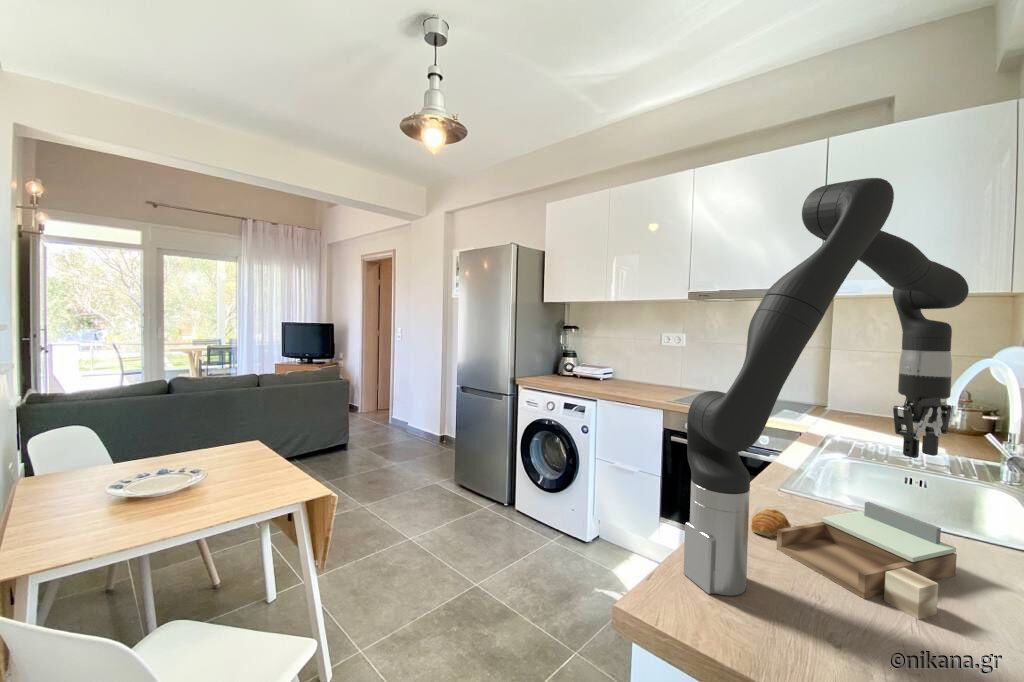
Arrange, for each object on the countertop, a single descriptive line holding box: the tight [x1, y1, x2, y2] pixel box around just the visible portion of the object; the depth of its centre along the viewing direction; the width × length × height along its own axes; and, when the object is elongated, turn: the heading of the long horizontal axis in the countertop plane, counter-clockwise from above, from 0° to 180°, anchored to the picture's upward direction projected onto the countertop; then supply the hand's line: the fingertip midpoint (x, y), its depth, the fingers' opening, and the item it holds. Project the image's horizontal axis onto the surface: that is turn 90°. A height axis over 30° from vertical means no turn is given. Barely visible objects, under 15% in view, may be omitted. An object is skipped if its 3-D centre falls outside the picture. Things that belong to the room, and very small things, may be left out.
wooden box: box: [776, 521, 957, 600], centre depth 80 cm, size 24×16×4 cm, turn 107°
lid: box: [820, 501, 957, 562], centre depth 81 cm, size 12×16×4 cm
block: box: [883, 568, 939, 620], centre depth 66 cm, size 4×4×5 cm
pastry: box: [750, 508, 792, 538], centre depth 92 cm, size 9×7×4 cm
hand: (920, 455), depth 84 cm, fingers open, 5 cm apart
